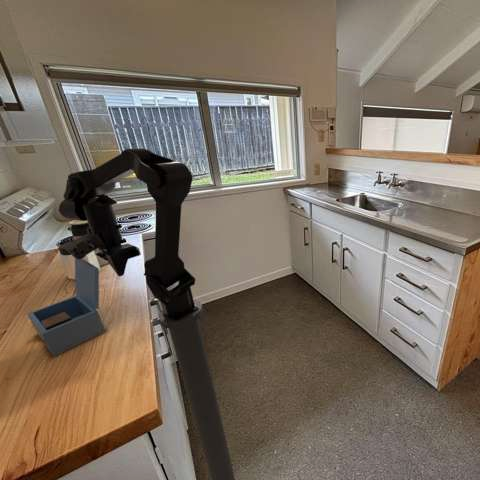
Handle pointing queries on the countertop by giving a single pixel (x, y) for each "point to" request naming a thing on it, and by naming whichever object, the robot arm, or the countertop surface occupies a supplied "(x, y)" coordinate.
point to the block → (55, 321)
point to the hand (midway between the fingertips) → (120, 275)
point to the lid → (87, 282)
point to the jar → (70, 260)
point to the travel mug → (80, 230)
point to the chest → (67, 324)
